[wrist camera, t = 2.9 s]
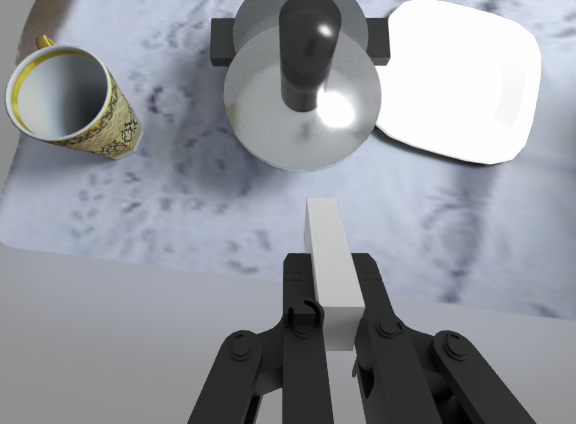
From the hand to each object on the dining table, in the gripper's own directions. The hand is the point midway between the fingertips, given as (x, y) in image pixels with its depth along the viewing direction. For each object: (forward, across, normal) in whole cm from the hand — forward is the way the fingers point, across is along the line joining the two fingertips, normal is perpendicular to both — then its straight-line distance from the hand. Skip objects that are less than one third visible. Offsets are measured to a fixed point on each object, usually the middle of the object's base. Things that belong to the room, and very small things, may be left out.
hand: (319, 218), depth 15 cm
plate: (+30, -20, -1) cm, 36 cm away
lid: (+19, 0, -1) cm, 19 cm away
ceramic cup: (+25, +24, +4) cm, 35 cm away
